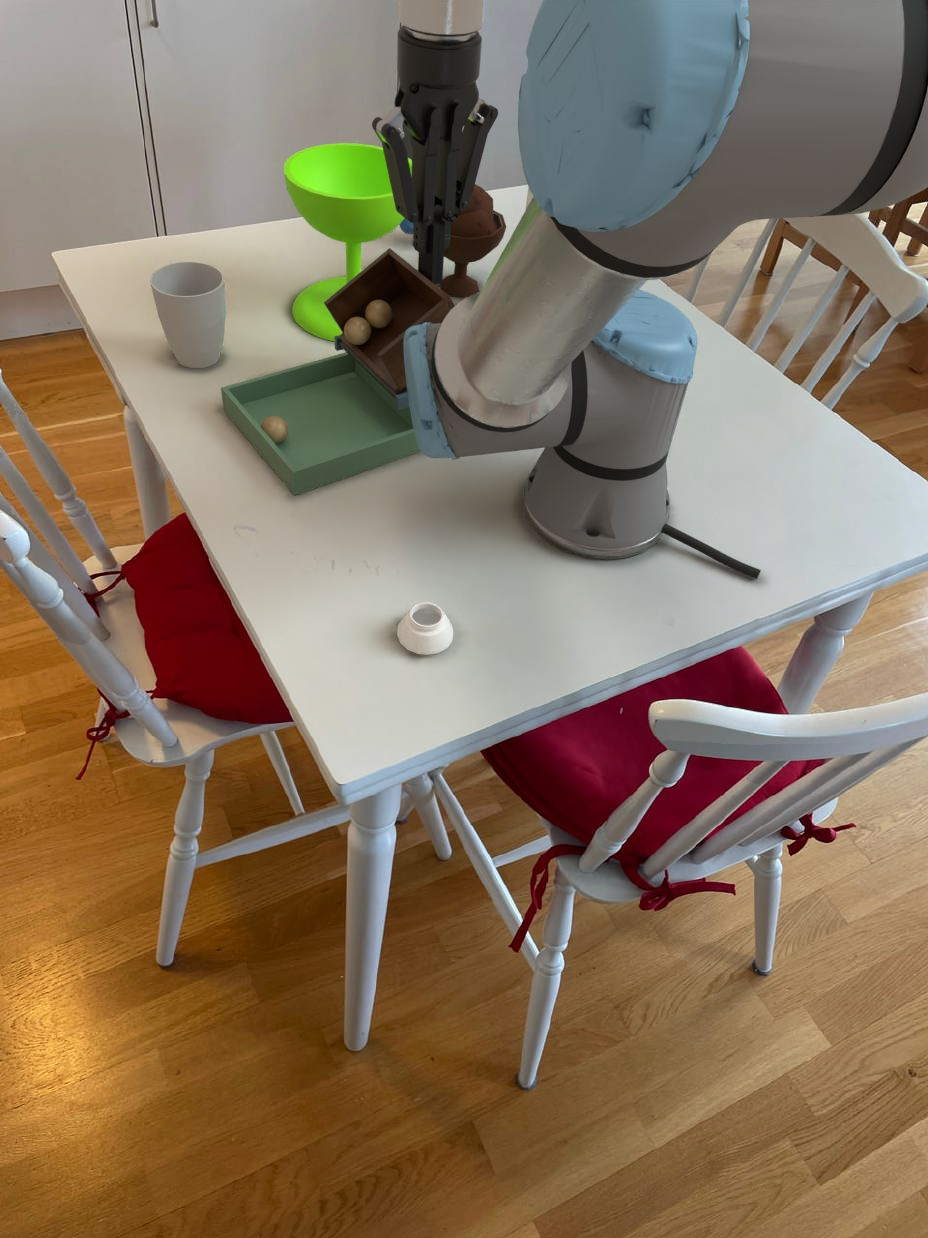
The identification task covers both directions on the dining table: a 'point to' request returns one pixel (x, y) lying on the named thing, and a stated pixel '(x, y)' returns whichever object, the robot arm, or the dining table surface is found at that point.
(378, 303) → the wooden ball
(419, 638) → the lidless jar
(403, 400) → the stand
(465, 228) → the ice cream bowl
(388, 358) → the brown wooden box
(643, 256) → the robot arm
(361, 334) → the wooden ball
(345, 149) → the wineglass
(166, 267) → the cup
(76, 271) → the dining table surface
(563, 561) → the dining table surface
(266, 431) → the wooden ball
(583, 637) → the dining table surface
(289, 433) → the tray
